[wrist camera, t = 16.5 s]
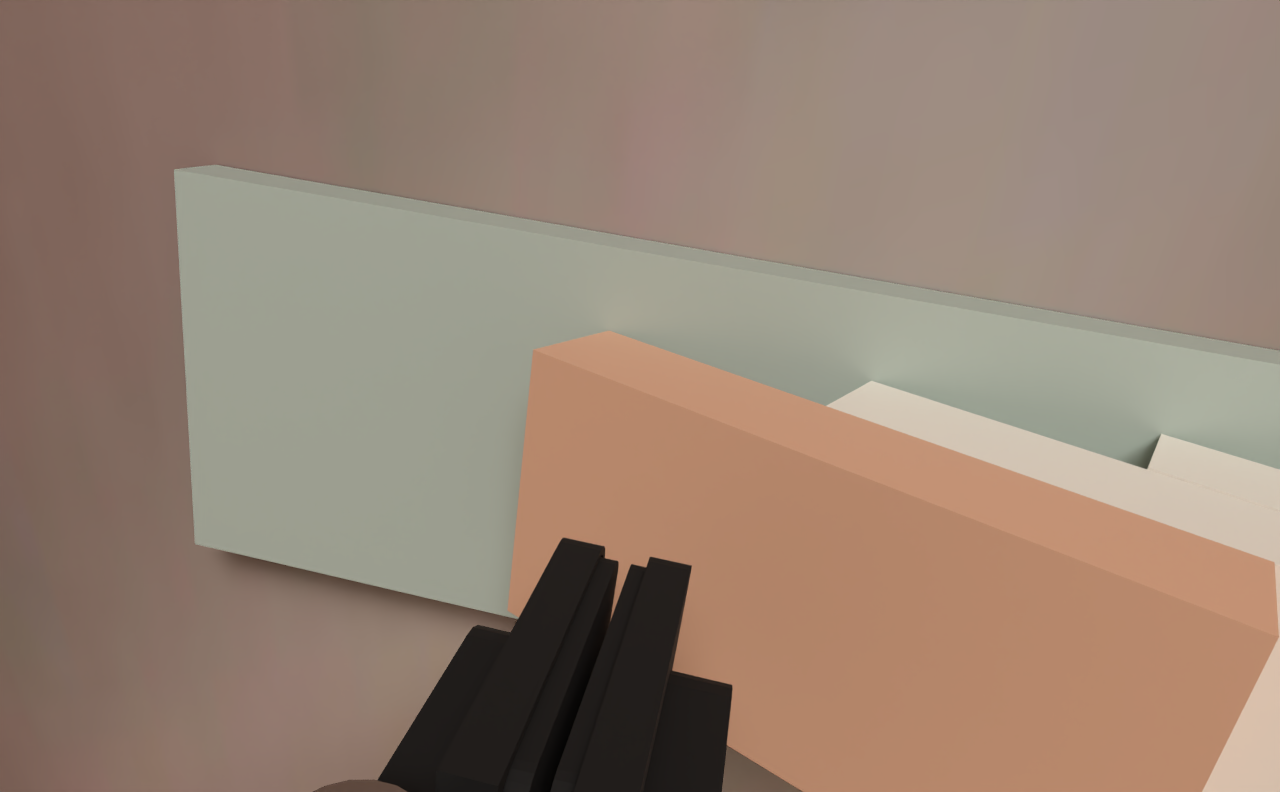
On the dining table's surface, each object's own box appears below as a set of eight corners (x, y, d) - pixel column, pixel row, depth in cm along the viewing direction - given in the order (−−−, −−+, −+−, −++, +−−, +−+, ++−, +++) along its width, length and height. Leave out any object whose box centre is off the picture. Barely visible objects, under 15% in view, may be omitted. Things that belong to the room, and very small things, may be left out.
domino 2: (762, 670, 15) (1533, 1091, 9) (824, 407, 13) (1814, 752, 8) (810, 621, 16) (1494, 960, 11) (871, 380, 14) (1717, 653, 9)
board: (229, 518, 19) (194, 544, 18) (216, 165, 16) (174, 169, 15) (1507, 809, 16) (1560, 862, 15) (1761, 435, 13) (1849, 465, 12)
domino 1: (507, 610, 15) (1108, 979, 10) (532, 349, 13) (1279, 637, 8) (577, 569, 17) (1128, 869, 12) (609, 330, 15) (1274, 561, 10)
